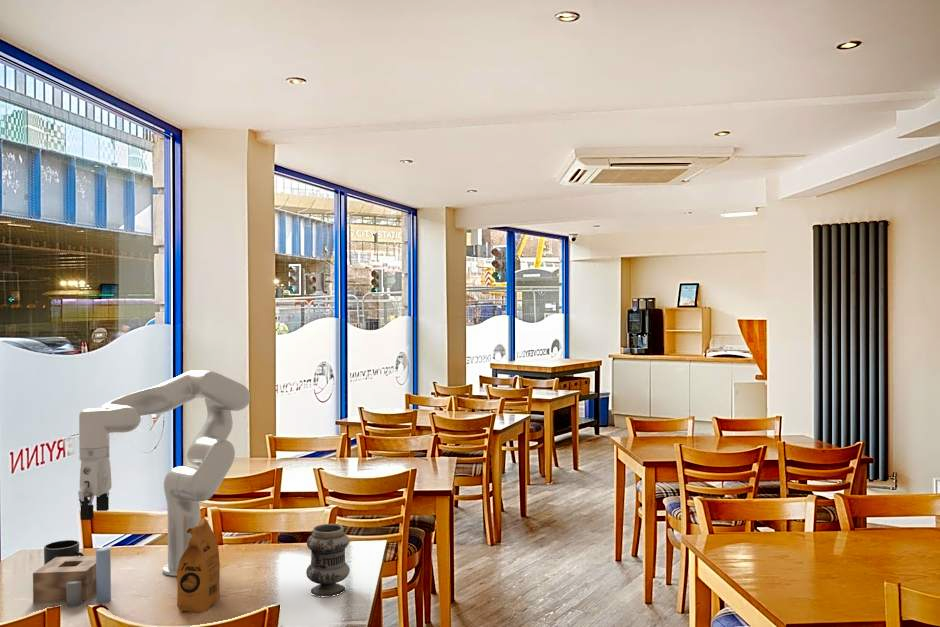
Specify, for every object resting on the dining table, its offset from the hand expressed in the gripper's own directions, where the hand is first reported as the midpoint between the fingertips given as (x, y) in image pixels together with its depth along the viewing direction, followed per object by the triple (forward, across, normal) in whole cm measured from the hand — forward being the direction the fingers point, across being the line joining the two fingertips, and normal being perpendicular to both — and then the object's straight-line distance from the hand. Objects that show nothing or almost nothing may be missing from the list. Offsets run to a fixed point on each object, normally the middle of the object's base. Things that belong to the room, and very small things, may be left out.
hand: (95, 515), depth 213 cm
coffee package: (+23, -7, -30) cm, 39 cm away
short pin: (+23, -4, +4) cm, 24 cm away
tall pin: (+23, -2, -3) cm, 23 cm away
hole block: (+23, +6, +9) cm, 26 cm away
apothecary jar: (+23, 0, -64) cm, 68 cm away
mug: (+23, +21, +18) cm, 36 cm away
